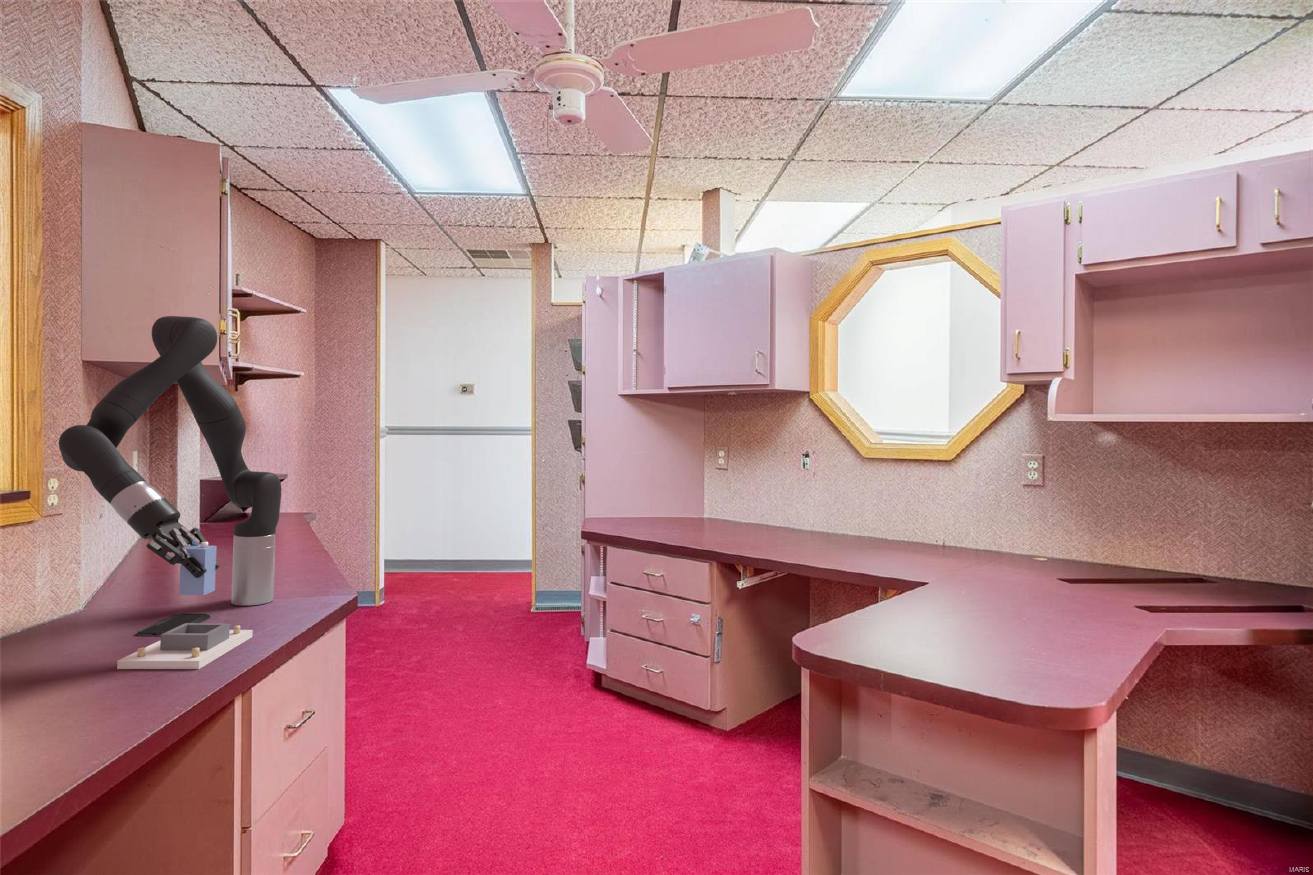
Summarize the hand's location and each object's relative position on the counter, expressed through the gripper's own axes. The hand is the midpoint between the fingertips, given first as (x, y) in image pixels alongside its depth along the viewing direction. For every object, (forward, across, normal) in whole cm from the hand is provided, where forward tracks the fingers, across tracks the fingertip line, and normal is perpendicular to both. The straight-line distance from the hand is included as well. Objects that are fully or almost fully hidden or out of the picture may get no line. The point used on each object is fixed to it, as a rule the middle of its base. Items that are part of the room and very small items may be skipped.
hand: (208, 572), depth 134 cm
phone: (0, +18, +23) cm, 29 cm away
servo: (+2, 0, +4) cm, 5 cm away
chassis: (+9, 0, +13) cm, 16 cm away
